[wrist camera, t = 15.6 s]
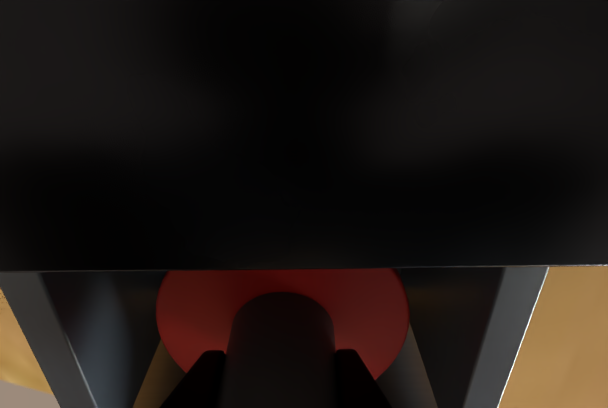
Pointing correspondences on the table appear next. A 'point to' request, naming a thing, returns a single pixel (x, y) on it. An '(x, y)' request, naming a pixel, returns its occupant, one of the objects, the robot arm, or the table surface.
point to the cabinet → (302, 134)
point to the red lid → (283, 329)
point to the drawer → (167, 373)
